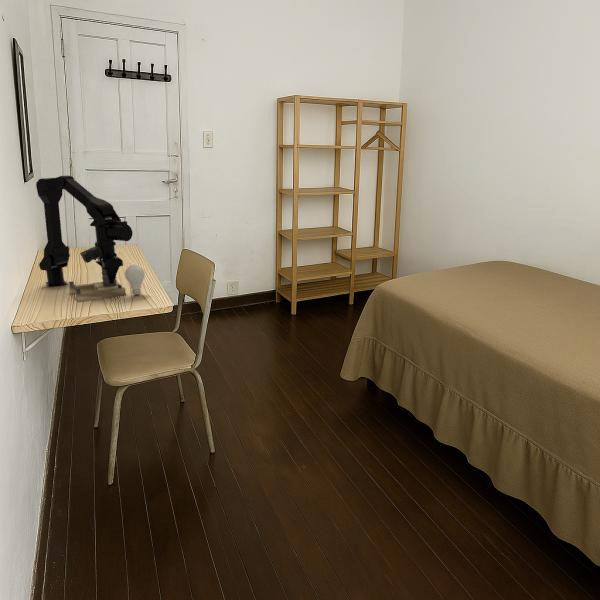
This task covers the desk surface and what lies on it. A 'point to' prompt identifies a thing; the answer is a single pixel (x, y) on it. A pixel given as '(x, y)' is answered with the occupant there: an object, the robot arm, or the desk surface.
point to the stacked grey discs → (106, 280)
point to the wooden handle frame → (95, 291)
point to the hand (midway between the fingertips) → (109, 282)
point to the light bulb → (135, 278)
